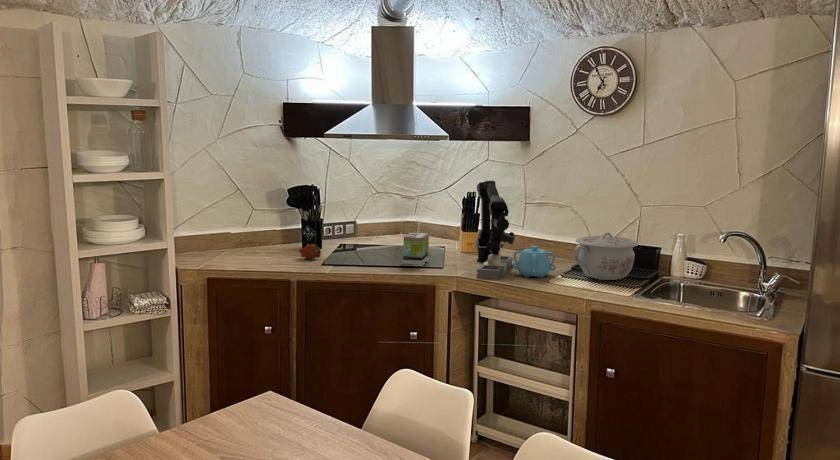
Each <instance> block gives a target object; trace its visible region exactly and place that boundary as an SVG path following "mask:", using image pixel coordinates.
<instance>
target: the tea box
mask: <svg viewBox="0 0 840 460" xmlns="http://www.w3.org/2000/svg"><path fill="white" fill-rule="evenodd" d="M429 238H430V234H429V233H425V232H409V233H408V234H405V235H404V236H403V247H402V248H403V249H402V250H403V251H402V253H403V254H402V258H403V259H402V264H403V263H408V264H419V265H423V263H424V262H425V261H426V260H427V259H428V260H429V249H430V248H429V246H430V239H429Z"/></svg>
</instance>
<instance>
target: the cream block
mask: <svg viewBox="0 0 840 460" xmlns="http://www.w3.org/2000/svg"><path fill="white" fill-rule="evenodd" d="M501 256H502V254H499V255H495V254H490V255H489V256H488V265H499V264H500V263H501Z"/></svg>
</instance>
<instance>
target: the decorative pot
mask: <svg viewBox="0 0 840 460" xmlns="http://www.w3.org/2000/svg"><path fill="white" fill-rule="evenodd" d="M517 254H520V256H519V257H518V260H517ZM548 255H551V256H552V260H551V261H550V258H549V256H548ZM513 260H514V262H515V263H512V266H511V267H512V269H514V270H518V272H519V274H520V275H522V276H523V277H524V278H529V277H537V278H539V279H542V278H543V279H544V277H546V276H548V275H549V273H550V271H551V272H553V271H555V270H556V266H555V264H554V262H555V260H556V255H555V254H554V253H553V252H552V251H546V250H545V249H543V248H539V246H537V245H531V246H530V248H525V249H523V250H517V251H515V252H514V253H513ZM552 267H553V268H552Z"/></svg>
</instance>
